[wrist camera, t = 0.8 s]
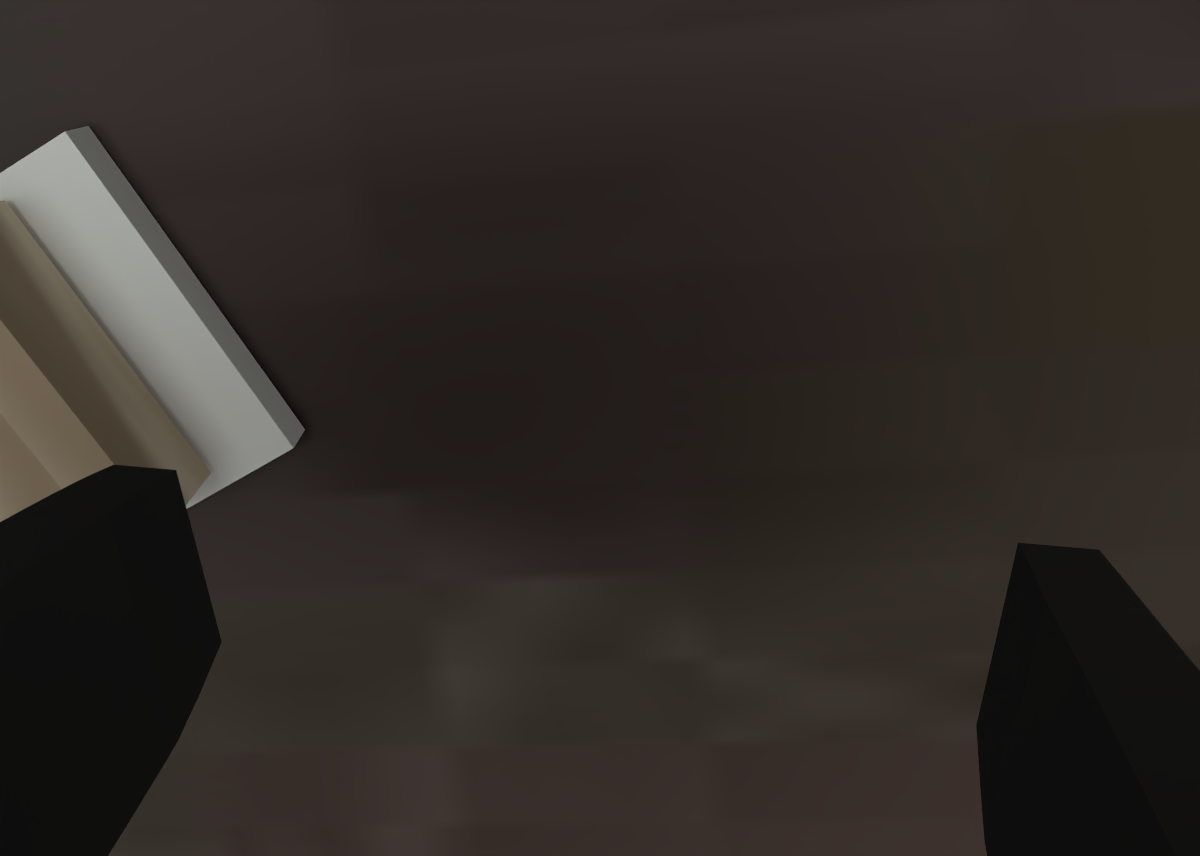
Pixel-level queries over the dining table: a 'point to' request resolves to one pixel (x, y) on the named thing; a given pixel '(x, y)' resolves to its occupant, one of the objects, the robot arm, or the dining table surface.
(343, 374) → the dining table surface
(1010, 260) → the dining table surface
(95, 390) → the gauge carriage
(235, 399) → the gauge base
